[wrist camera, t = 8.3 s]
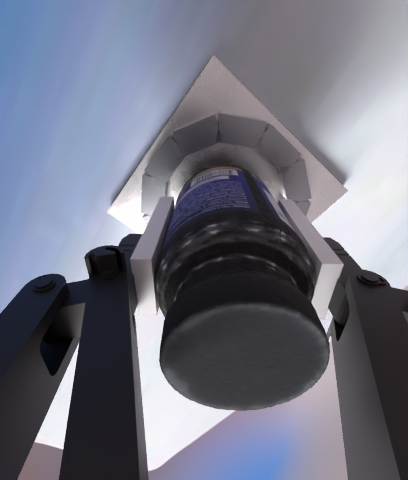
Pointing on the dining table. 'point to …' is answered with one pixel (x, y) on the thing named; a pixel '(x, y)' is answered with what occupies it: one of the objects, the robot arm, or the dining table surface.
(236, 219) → the pill bottle
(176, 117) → the hub plate
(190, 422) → the dining table surface
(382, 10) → the dining table surface
